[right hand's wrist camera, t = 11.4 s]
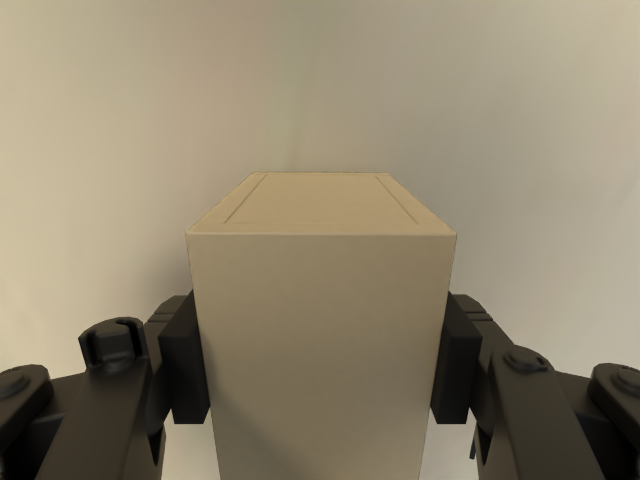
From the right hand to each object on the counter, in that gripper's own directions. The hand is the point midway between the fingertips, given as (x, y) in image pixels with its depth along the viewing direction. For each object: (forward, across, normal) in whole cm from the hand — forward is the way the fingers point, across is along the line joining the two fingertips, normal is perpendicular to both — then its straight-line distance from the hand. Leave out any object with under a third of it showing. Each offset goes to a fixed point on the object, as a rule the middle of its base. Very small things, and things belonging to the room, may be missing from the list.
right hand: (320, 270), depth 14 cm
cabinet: (+2, 0, -5) cm, 5 cm away
